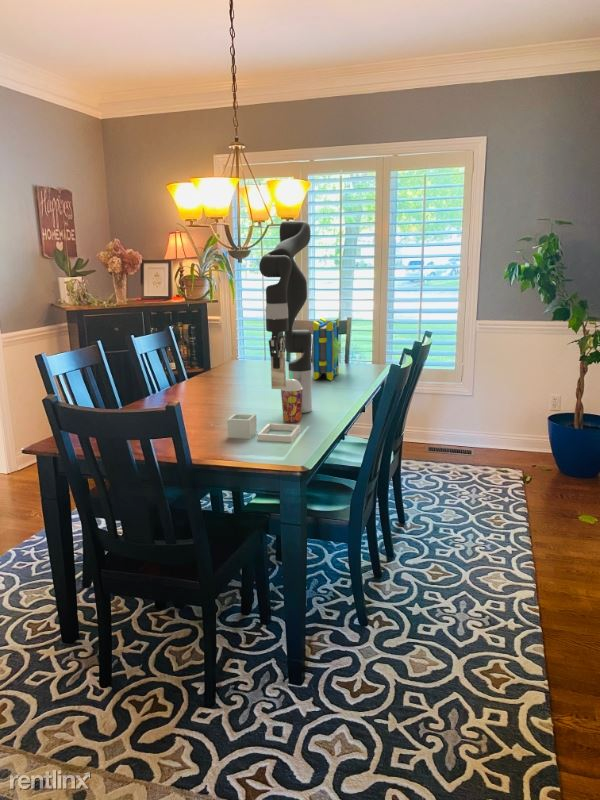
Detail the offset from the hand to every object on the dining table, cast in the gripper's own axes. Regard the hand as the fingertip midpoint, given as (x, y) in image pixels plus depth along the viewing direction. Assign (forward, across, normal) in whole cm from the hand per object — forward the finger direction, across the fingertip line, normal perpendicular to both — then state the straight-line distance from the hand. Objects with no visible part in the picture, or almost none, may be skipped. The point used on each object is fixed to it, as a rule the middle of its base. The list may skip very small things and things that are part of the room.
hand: (278, 367), depth 200 cm
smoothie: (+25, -19, 0) cm, 32 cm away
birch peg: (+7, 0, 0) cm, 7 cm away
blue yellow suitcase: (+25, -109, -3) cm, 112 cm away
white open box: (+25, +2, -13) cm, 28 cm away
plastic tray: (+25, 0, 0) cm, 25 cm away
